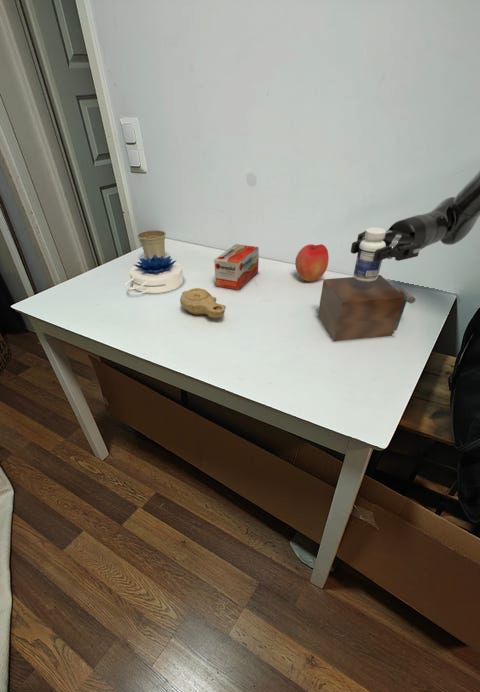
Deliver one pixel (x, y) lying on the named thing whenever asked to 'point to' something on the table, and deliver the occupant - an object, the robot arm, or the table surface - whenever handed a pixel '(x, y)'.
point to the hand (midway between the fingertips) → (364, 252)
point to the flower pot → (153, 243)
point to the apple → (312, 262)
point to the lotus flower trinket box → (155, 275)
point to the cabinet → (359, 308)
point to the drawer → (409, 299)
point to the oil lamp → (201, 303)
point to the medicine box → (236, 266)
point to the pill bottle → (369, 255)
